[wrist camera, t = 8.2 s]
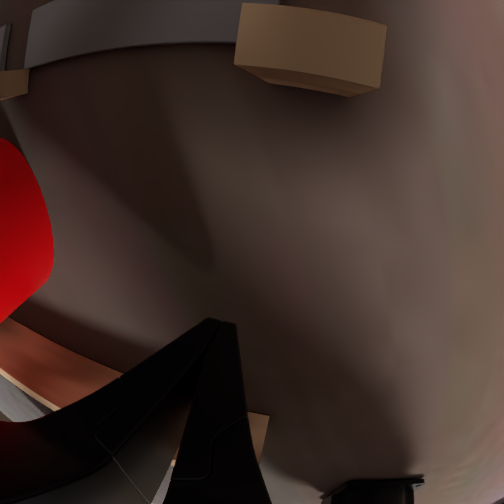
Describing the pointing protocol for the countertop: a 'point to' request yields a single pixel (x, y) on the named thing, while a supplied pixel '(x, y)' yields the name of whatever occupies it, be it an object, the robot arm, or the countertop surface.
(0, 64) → the wooden box
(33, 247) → the mug
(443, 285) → the countertop surface
